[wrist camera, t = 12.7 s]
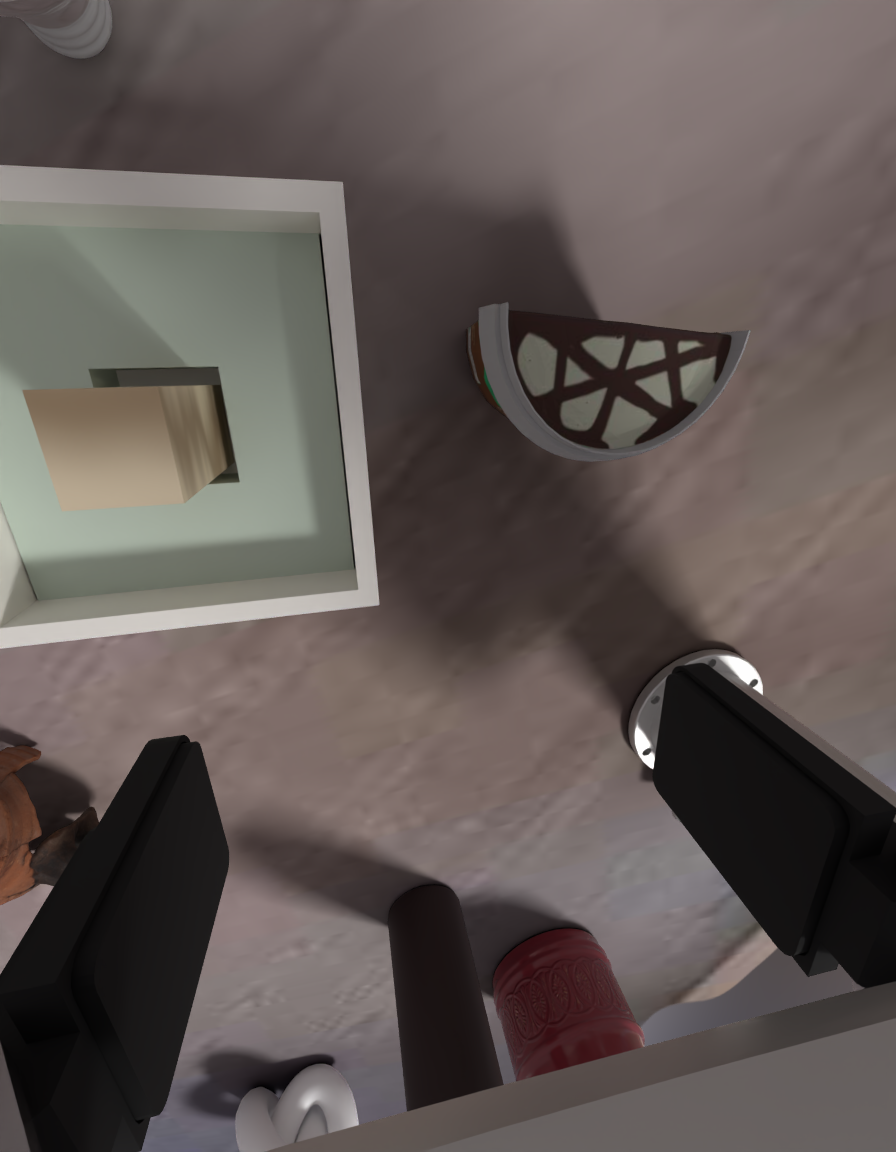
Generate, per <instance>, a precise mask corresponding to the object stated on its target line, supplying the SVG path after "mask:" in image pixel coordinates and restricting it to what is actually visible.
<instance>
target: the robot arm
mask: <svg viewBox="0 0 896 1152" xmlns="http://www.w3.org/2000/svg"><path fill="white" fill-rule="evenodd" d="M628 734H629V739H630V744H631V746H632V748H633V750H634V752H635V753H636V754H637V756H638V757H639V758H640V759H641V761H642V762H643V763H644V764H646V765H647V766H648V767H649V768H651V769H653V781H654V785H655V787H656V789H657V791H658V792H659V794H660V795H661V796H662V798H663V799H664V800H665V802H666V803H667V804H668V806H669V807H670V808H671V809H672V814H673V816H674V817H675V819H677V820H678V821H680V822H681V823H682V824H683V825H684V826H685V828H686V829H687V830H688V832H689V833H690V834H691V836H692V837H693V838H694V839H695V841H696V842H697V843H698V845H699V846H700V847H701V849H702V850H703V851H704V852H705V854H706V855H707V856H708V858H709V859H710V860H711V862H712V863H713V864H714V865H715V867H716V868H717V869H718V871H719V872H720V873H721V875H722V876H723V877H724V879H725V880H726V881H727V882H728V884H729V885H730V886H731V888H732V889H733V890H734V892H735V893H736V894H737V895H738V897H739V898H740V899H741V901H742V902H743V903H744V905H745V906H746V907H747V908H748V910H749V911H750V912H751V914H752V915H753V916H754V918H755V919H756V920H757V922H758V923H759V924H760V925H761V927H762V928H763V929H764V931H765V932H766V933H767V935H768V936H769V937H770V938H771V940H772V941H773V942H774V944H775V945H776V946H777V947H778V948H779V949H780V950H781V951H782V952H783V953H784V954H786V955H789V956H792V957H793V958H794V960H795V961H796V962H797V963H798V965H799V966H800V967H801V969H802V970H803V971H804V972H805V974H806V975H807V976H808V977H809V976H813V975H817V974H820V973H824V972H828V971H832V970H836V969H837V967H838V964H840V965H841V966H842V967H843V968H844V970H845V971H846V972H847V973H848V974H849V975H850V977H851V980H852V986H853V992H850V993H846V994H842V995H839V996H834V997H830V998H827V999H823V1000H819V1001H815V1002H812V1003H808V1004H804V1005H800V1006H796V1007H793V1008H789V1009H785V1010H781V1011H777V1012H774V1013H770V1014H766V1015H762V1016H758V1017H755V1018H751V1019H747V1020H743V1021H739V1022H736V1023H732V1024H728V1025H724V1026H721V1027H717V1028H713V1029H709V1030H706V1031H702V1032H698V1033H694V1034H690V1035H687V1036H683V1037H679V1038H676V1039H672V1040H668V1041H664V1042H661V1043H657V1044H653V1045H649V1046H646V1047H642V1048H638V1049H635V1050H631V1051H627V1052H623V1053H620V1054H616V1055H612V1056H609V1057H605V1058H601V1059H598V1060H594V1061H590V1062H586V1063H583V1064H579V1065H575V1066H572V1067H568V1068H564V1069H561V1070H557V1071H553V1072H550V1073H546V1074H542V1075H539V1076H535V1077H531V1078H528V1079H524V1080H520V1081H516V1082H513V1083H509V1084H505V1085H502V1086H498V1087H494V1088H491V1089H487V1090H483V1091H480V1092H476V1093H473V1094H469V1095H465V1096H462V1097H458V1098H455V1099H451V1100H447V1101H444V1102H440V1103H436V1104H433V1105H429V1106H426V1107H422V1108H418V1109H415V1110H411V1111H408V1112H404V1113H400V1114H397V1115H393V1116H390V1117H386V1118H382V1119H379V1120H375V1121H372V1122H368V1123H364V1124H361V1125H357V1126H354V1127H350V1128H346V1129H343V1130H339V1131H335V1132H332V1133H328V1134H325V1135H321V1136H317V1137H314V1138H310V1139H307V1140H303V1141H299V1142H296V1143H292V1144H289V1145H285V1146H282V1147H278V1148H275V1149H272V1150H268V1151H265V1152H896V792H895V791H893V790H892V789H890V788H889V787H888V786H886V785H885V784H884V783H882V782H881V781H880V780H878V779H877V778H875V777H874V776H873V775H871V774H870V773H869V772H867V771H866V770H865V769H863V768H862V767H860V766H859V765H858V764H856V763H855V762H854V761H852V760H851V759H850V758H848V757H847V756H845V755H844V754H843V753H841V752H840V751H839V750H837V749H836V748H834V747H833V746H832V745H830V744H829V743H828V742H826V741H825V740H824V739H822V738H821V737H819V736H818V735H817V734H815V733H814V732H813V731H811V730H810V729H809V728H807V727H806V726H804V725H803V724H802V723H800V722H799V721H798V720H796V719H795V718H794V717H792V716H791V715H789V714H788V713H787V712H785V711H784V710H783V709H781V708H780V707H779V706H777V705H776V704H774V703H773V702H772V701H770V700H769V699H768V698H766V697H765V696H763V687H762V682H761V678H760V675H759V673H758V672H757V670H756V669H755V667H754V666H753V665H752V664H751V663H749V662H748V661H747V660H745V659H744V658H742V657H741V656H739V655H738V654H736V653H733V652H730V651H727V650H719V649H711V650H702V651H699V652H695V653H691V654H689V655H686V656H684V657H682V658H680V659H678V660H676V661H674V662H673V663H671V664H670V665H668V666H667V667H665V668H664V669H663V670H661V671H660V672H659V673H658V674H657V675H656V676H654V677H653V679H652V680H651V681H650V682H649V683H648V684H647V685H646V687H645V688H644V689H643V691H642V692H641V694H640V695H639V697H638V698H637V700H636V703H635V705H634V707H633V709H632V712H631V716H630V720H629V730H628ZM228 867H229V849H228V845H227V841H226V838H225V834H224V830H223V826H222V823H221V819H220V815H219V812H218V808H217V804H216V801H215V797H214V793H213V790H212V786H211V782H210V778H209V775H208V771H207V767H206V764H205V760H204V756H203V753H202V749H201V746H200V744H199V743H198V742H190V740H189V738H188V737H187V736H185V735H181V736H173V737H166V738H159V739H152V740H150V741H148V743H147V744H146V745H145V747H144V749H143V750H142V752H141V754H140V755H139V757H138V759H137V760H136V762H135V764H134V765H133V767H132V769H131V770H130V772H129V774H128V775H127V777H126V779H125V781H124V782H123V784H122V786H121V787H120V789H119V791H118V792H117V794H116V796H115V797H114V799H113V801H112V802H111V804H110V806H109V807H108V809H107V811H106V812H105V814H104V816H103V818H102V819H101V821H100V823H99V824H98V826H97V827H95V828H93V829H92V830H91V831H89V832H88V834H87V835H86V836H85V837H84V839H83V840H82V842H81V843H80V845H79V847H78V848H77V850H76V851H75V853H74V855H73V856H72V858H71V860H70V861H69V863H68V865H67V866H66V868H65V869H64V871H63V873H62V874H61V876H60V878H59V879H58V881H57V883H56V884H55V886H54V888H53V889H52V891H51V892H50V894H49V896H48V897H47V899H46V901H45V902H44V904H43V906H42V907H41V909H40V911H39V912H38V914H37V915H36V917H35V919H34V920H33V922H32V924H31V925H30V927H29V929H28V930H27V932H26V933H25V935H24V937H23V938H22V940H21V942H20V943H19V945H18V947H17V948H16V950H15V952H14V953H13V955H12V956H11V958H10V960H9V961H8V963H7V965H6V966H5V968H4V970H3V971H2V973H1V974H0V1152H139V1151H141V1150H142V1146H143V1143H144V1139H145V1136H146V1132H147V1128H148V1125H149V1121H150V1118H151V1117H154V1116H157V1115H160V1113H161V1112H162V1111H163V1108H164V1106H165V1104H166V1101H167V1098H168V1095H169V1091H170V1087H171V1084H172V1080H173V1076H174V1072H175V1069H176V1065H177V1061H178V1057H179V1053H180V1050H181V1046H182V1042H183V1038H184V1035H185V1031H186V1027H187V1023H188V1019H189V1016H190V1012H191V1008H192V1004H193V1000H194V997H195V993H196V989H197V985H198V982H199V978H200V974H201V970H202V966H203V963H204V959H205V955H206V951H207V948H208V944H209V940H210V936H211V932H212V929H213V925H214V921H215V917H216V913H217V910H218V906H219V902H220V898H221V895H222V891H223V887H224V883H225V879H226V876H227V872H228Z"/></svg>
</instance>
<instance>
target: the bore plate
mask: <svg viewBox="0 0 896 1152" xmlns="http://www.w3.org/2000/svg"><path fill="white" fill-rule="evenodd" d="M199 368H219V374H220V379H221V384H222V390H223V395H224V400H225V406H226V411H227V416H228V422H229V427H230V432H231V438H232V443H233V448H234V454H235V459H236V464H237V470H238V473H228V474H219V475H218V476H217V477H216V478H215V479H213V480H212V481H211V482H210V483H209V484H207V485H206V486H205V487H204V488H203V489H201V490H200V491H199V492H198V493H196V494H195V495H194V496H193V497H192V498H190V499H189V500H188V501H187V502H186V503H183V504H168V505H153V506H137V507H122V508H106V509H91V510H76V511H62V510H61V507H60V504H59V501H58V498H57V495H56V492H55V489H54V486H53V483H52V480H51V477H50V474H49V471H48V468H47V465H46V462H45V458H44V455H43V452H42V449H41V446H40V443H39V440H38V437H37V434H36V431H35V428H34V425H33V422H32V419H31V416H30V413H29V410H28V407H27V404H26V401H25V398H24V395H23V391H22V390H38V389H71V388H103V387H120V384H119V381H118V377H117V373H116V370H151V369H199ZM0 502H1V504H2V507H3V510H4V512H5V515H6V518H7V520H8V523H9V525H10V528H11V531H12V533H13V536H14V539H15V541H16V544H17V546H18V549H19V552H20V554H21V557H22V560H23V562H24V565H25V567H26V570H27V573H28V575H29V578H30V581H31V583H32V586H33V588H34V591H35V594H36V596H37V599H38V601H41V600H51V599H61V598H71V597H81V596H91V595H101V594H112V593H122V592H132V591H142V590H152V589H162V588H172V587H182V586H192V585H202V584H212V583H222V582H232V581H242V580H252V579H262V578H272V577H282V576H292V575H302V574H313V573H323V572H333V571H343V570H353V569H354V564H353V554H352V545H351V535H350V526H349V516H348V507H347V497H346V488H345V478H344V469H343V459H342V450H341V440H340V431H339V421H338V412H337V402H336V393H335V383H334V374H333V364H332V355H331V345H330V336H329V326H328V317H327V307H326V298H325V288H324V279H323V269H322V260H321V250H320V241H319V234H317V233H283V232H248V231H214V230H180V229H146V228H112V227H78V226H44V225H10V224H0Z"/></svg>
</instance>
